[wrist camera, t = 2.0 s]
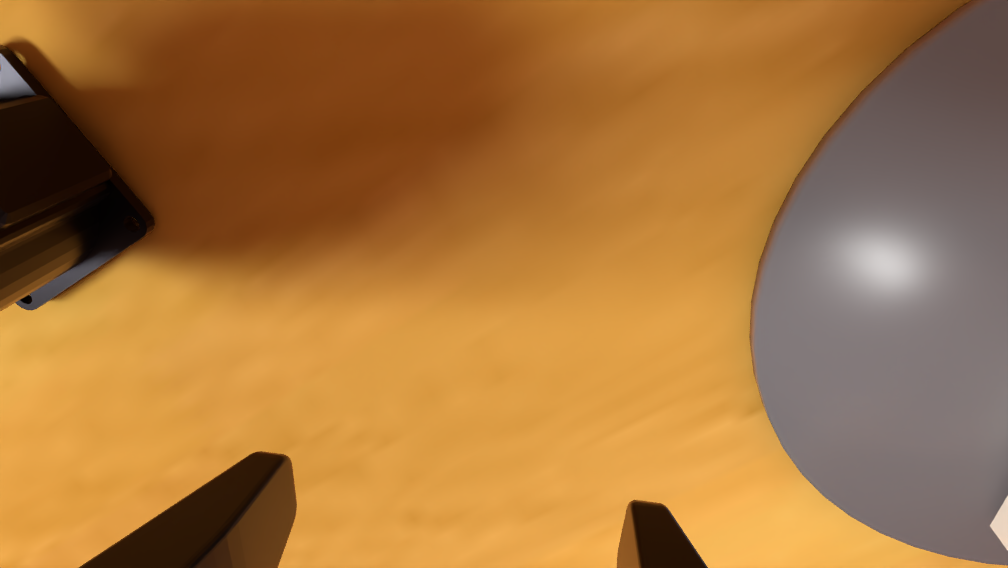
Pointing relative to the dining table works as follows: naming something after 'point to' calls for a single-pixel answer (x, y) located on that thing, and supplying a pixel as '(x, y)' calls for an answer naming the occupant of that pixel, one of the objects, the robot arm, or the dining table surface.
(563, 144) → the dining table surface
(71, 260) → the robot arm
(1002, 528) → the peg key
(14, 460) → the dining table surface
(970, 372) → the tuner plate
